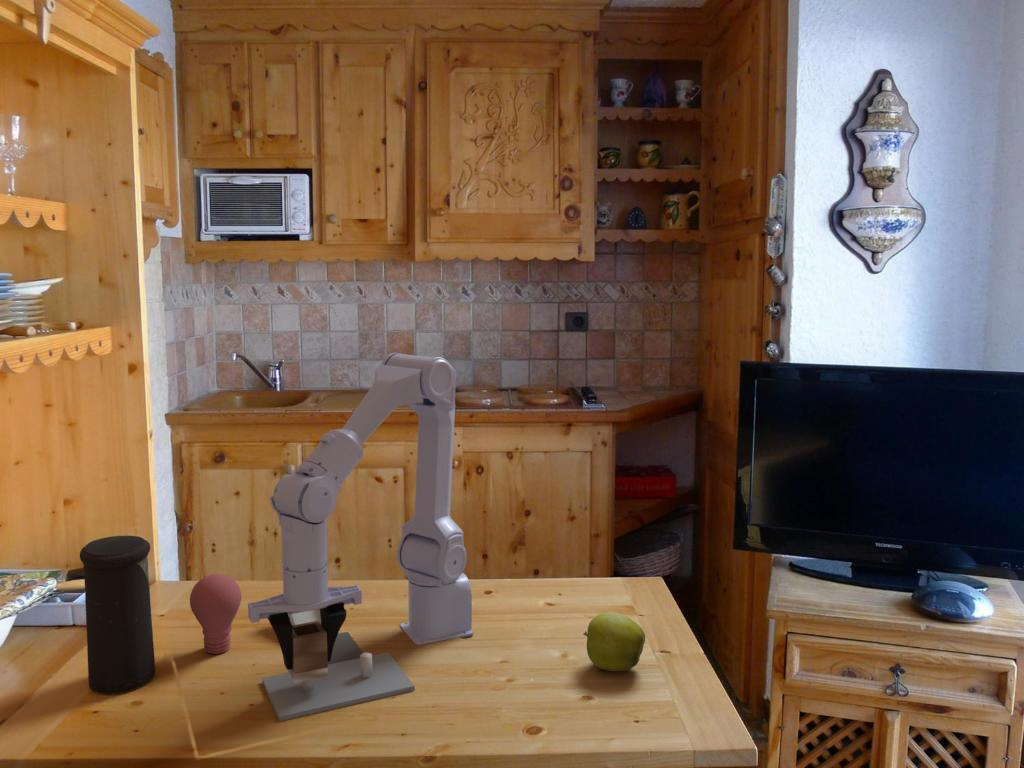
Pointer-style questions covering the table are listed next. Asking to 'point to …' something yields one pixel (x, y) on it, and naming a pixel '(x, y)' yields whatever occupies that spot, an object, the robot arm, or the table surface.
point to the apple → (614, 641)
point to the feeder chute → (305, 617)
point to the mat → (344, 649)
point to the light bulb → (215, 609)
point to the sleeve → (309, 652)
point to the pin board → (337, 686)
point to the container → (118, 614)
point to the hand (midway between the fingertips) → (307, 662)
